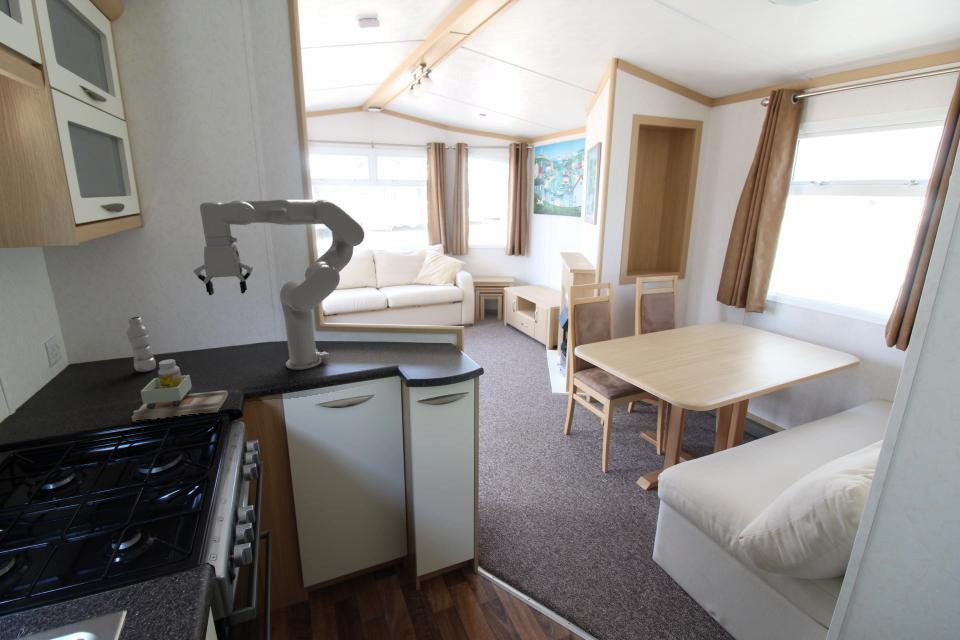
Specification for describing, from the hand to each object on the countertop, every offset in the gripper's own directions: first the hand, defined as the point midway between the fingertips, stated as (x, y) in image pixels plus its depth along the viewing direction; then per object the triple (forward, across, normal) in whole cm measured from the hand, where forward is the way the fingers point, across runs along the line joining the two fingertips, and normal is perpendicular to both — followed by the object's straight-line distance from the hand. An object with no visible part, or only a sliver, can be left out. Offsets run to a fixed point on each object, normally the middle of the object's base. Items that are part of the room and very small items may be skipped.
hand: (227, 293), depth 151 cm
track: (+30, +12, +20) cm, 38 cm away
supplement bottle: (+25, +14, +20) cm, 35 cm away
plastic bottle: (+31, +35, -16) cm, 49 cm away
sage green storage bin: (+28, +15, +20) cm, 37 cm away
